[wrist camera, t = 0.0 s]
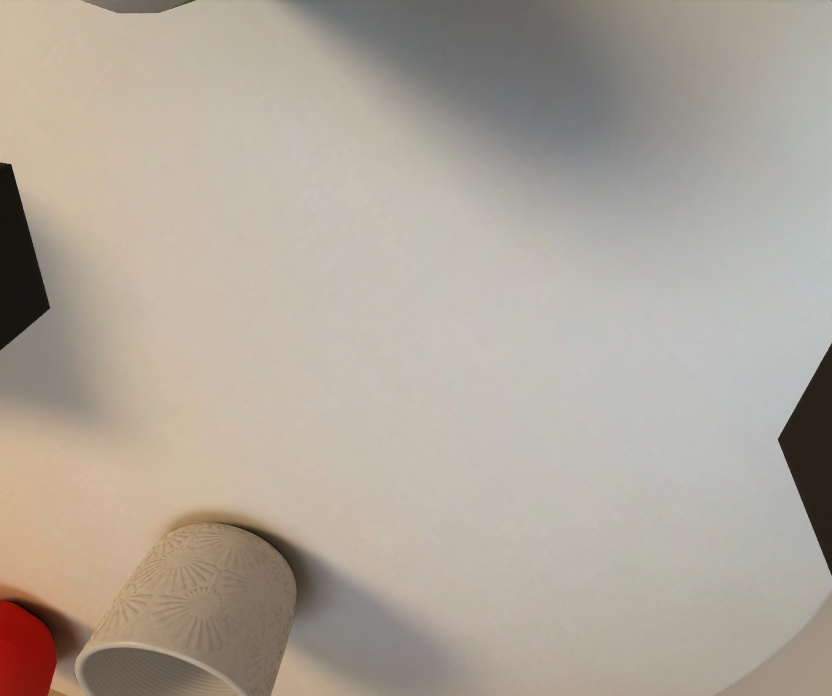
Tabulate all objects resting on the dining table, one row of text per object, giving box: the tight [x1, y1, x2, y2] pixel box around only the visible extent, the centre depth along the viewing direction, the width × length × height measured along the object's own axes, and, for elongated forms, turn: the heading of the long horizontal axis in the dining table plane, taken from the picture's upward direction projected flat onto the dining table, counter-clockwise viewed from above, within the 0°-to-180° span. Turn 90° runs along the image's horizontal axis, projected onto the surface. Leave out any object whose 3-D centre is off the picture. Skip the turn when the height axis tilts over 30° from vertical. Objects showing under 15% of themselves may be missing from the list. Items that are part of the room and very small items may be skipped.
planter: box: [75, 523, 297, 696], centre depth 47 cm, size 12×12×11 cm
